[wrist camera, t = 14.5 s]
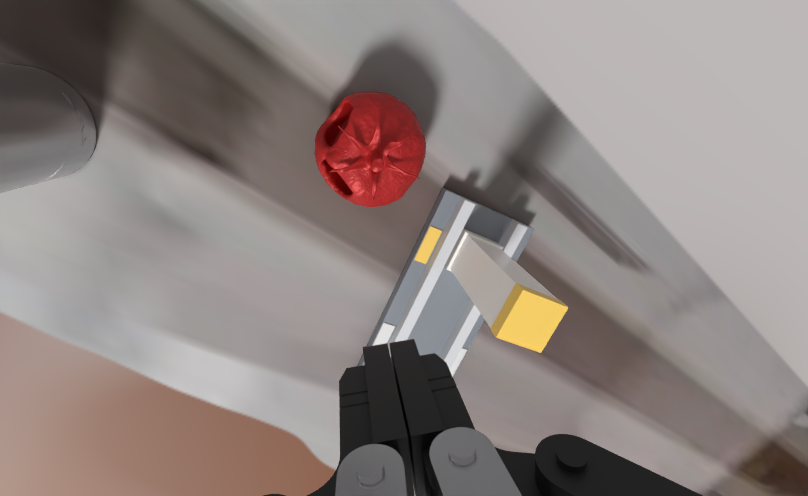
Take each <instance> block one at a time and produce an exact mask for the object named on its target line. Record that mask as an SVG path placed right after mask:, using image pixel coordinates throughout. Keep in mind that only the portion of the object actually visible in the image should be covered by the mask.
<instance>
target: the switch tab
mask: <svg viewBox="0 0 808 496" xmlns="http://www.w3.org/2000/svg"><path fill="white" fill-rule="evenodd" d="M502 249H503V247H502V246H501V245H500V244H498V243H497V242H494V241H492V240H490V239H487V238H485V237H482V236H480V235H478V234H475V233H473V232H470V231H468V230H466V229H463V230H462V232H461V234H460V236H459V238H458V240H457V242H456V244H455V246H454V248H453V250H452V252H451V254H450V256H449V258H448V260H447V262H446V264H445V266H444V267H445V268H446V270H449V271H452V273H453V274H454V276H455V277H456V279H457V280H458V281H459V283H460V284H461V286H462V287H463V289H464V290H465V292H466V293H467V294H468V296H469V297H470V299H471V300H472V302H473V303H474V305H475V306H476V308H477V309H478V310H479V312H480V313H481V315H482V316H483V318H484V319H485V321H486V322H487V323H488V325H489V326H490V329H491V331H492V332H493V334H494V335H495V337H496V338H499V339H502V340H505V341H508V342H511V343H514V344H517V345H520V346H522V347H525V348H528V349H531V350H534V351H537V352H540V353H541V352H542V350H543V349H544V347H545V345H546V344H547V342H548V340H549V339H550V337H551V335H552V334H553V332H554V330H555V329H556V327H557V326H558V324H559V322H560V321H561V319H562V317H563V316H564V314H565V312H566V311H567V309H568V307H567V306H566V305H565V304H564V303H563V302H562V301H560V300H558V299H557V298H556V297H555V296H553V295H552V294H551V293H550V292H549V291H548V290H547V289H546V288H544V287H543V286H542V285H541V284H540V283H539V282H538V281H536V280H535V279H534V278H533V277H532V276H531V275H530V274H529V273H527V272H526V271H525V270H524V269H523V268H522V267H521V266H519V265H518V264H517V263H516V262H515V261H514V260H513V259H512V258H510V257H509V256H508V255H507V254H506V253H505V252H504V251H502Z"/></svg>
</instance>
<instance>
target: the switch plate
mask: <svg viewBox="0 0 808 496" xmlns="http://www.w3.org/2000/svg"><path fill="white" fill-rule="evenodd" d="M463 229H466V230H468V231H470V232H473V233H475V234H478V235H480V236H482V237H485V238H487V239H490V240H492V241H494V242H497V243H498V244H500V245H501V246H502V247H503V249H502V251H504V252H505V253H506V254H507V255H508V256H509V257H510V258H512V259H513V260H514V261H515V262H517V260H518V258H519V256H520V254H521V253H522V251H523V249H524V247H525V245H526V244H527V242H528V240H529V238H530V236H531V235H532V233H533V231H534V229H533V228H531V227H530V226H528V225H526V224H524V223H521V222H519V221H517V220H515V219H512V218H510V217H508V216H506V215H503V214H501V213H499V212H497V211H495V210H492V209H490V208H488V207H486V206H483V205H481V204H479V203H477V202H474V201H472V200H470V199H468V198H465V197H463V196H461V195H459V194H456V193H454V192H452V191H450V190H447V189H445V188H442V190H441V192H440V194H439V196H438V198H437V200H436V202H435V205H434V207H433V209H432V211H431V213H430V215H429V217H428V219H427V221H426V223H425V225H424V228H423V230H422V232H421V234H420V236H419V238H418V240H417V242H416V244H415V246H414V248H413V251H412V253H411V255H410V257H409V259H408V261H407V263H406V265H405V267H404V269H403V271H402V274H401V276H400V278H399V280H398V282H397V284H396V286H395V288H394V290H393V292H392V294H391V297H390V299H389V301H388V303H387V305H386V307H385V309H384V311H383V313H382V315H381V317H380V319H379V322H378V324H377V326H376V328H375V330H374V332H373V334H372V336H371V338H370V340H369V342H368V345H367V346H373V345H379V344H385V343H387V344H388V348H389V352H390V346H389V343H392V342H398V341H404V340H410V339H414V340H415V343H416V346H417V349H418V352H419V355H420V356H421V355H427V354H432V353H435V354H437V355H438V356H439V357H440V358H441V359H443V360H444V361H445V362H446V363H447V365H448V367H449V370H450V372H451V374H452V377H453V375H454V374H455V372H456V370H457V368H458V366H459V364H460V363H461V361H462V359H463V357H464V355H465V354H466V352H467V350H468V348H469V346H470V345H471V343H472V341H473V339H474V337H475V336H476V334H477V332H478V330H479V328H480V327H481V325H482V323H483V321H484V318H483V316H482V315H481V313H480V312H479V310H478V309H477V308H476V306H475V305H474V303H473V302H472V300H471V299H470V297H469V296H468V294H467V293H466V292H465V290H464V289H463V287H462V286H461V284H460V283H459V281H458V280H457V279H456V277H455V276H454V274H453V273H452V271H449V270H446V268H445V267H444V266H445V264H446V262H447V260H448V258H449V256H450V254H451V252H452V250H453V248H454V246H455V244H456V242H457V240H458V238H459V236H460V234H461V232H462V230H463ZM390 357H391V355H390ZM362 365H365V363H364V354H363V355H362V357H361V359H360V361H359V363H358V365H357V366H362Z"/></svg>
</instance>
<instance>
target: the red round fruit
mask: <svg viewBox="0 0 808 496" xmlns="http://www.w3.org/2000/svg"><path fill="white" fill-rule="evenodd" d="M425 150H426V142H425V138H424V134H423V132H422V128H421V126H420V124H419V122H418V120H417V118H416V115H415V114H414V112H412V111H411V110H410V108H409V107H408V106H407V105H406V104H405V103H403V102H401V101H399V100H398V99H396V98H395V97H393V96H391V95H389V94H385V93H379V92H358V93H353V94H351V95H349V96H346V97H345V98H344V99H343V100H342V102H341V104H340V105H339V106H338V107H337V109H336V110H335V111H334V113H333V114H331V115H330V116H329V117H328V118H327V119H326V121H325V122H324V123H323V124H322V125H321V127H320V128H319V130H318V132H317V135H316V138H315V157H316V162H317V166H318V168H319V170H320V173H321V175H322V176H323V177H324V178H325V181H326V182H327V184H328V185H329V186H330V187H332V188H333V189H334V190H335V192H337V193H338V194H339V195H340V196H342V197H343V198H345V199H346V200H349V201H351V202H352V203H354V204H357V205H361V206H366V207H376V206H384V205H387V204H389V203H392V202H394V201H397V200H399V199H400V198H401V197H402V196H403V195H404V194H405V192H406V191H407V190H408V189H409V187H410V186H411V185H412V183H413V182H414V181H415V179H416V178H418V174H419V173H420V171H421V168H422V165H423V162H424V158H425V153H426V151H425ZM418 179H419V178H418Z"/></svg>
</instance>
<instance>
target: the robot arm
mask: <svg viewBox="0 0 808 496" xmlns="http://www.w3.org/2000/svg"><path fill="white" fill-rule="evenodd" d="M95 144H96V128H95V124H94V119H93V117H92V115H91V112H90V110H89V108H88V106H87V105H86V103H85V102H84V100H83V99H82V98H81V96H80V95H79V94H78V93H77V92H76V91H75V90H74V89H73V88H72V87H71V86H70V85H69V84H67V83H66V82H64V81H63V80H62V79H60V78H59V77H57V76H55V75H53V74H51V73H49V72H47V71H45V70H41V69H38V68H35V67H31V66H23V65H15V64H7V63H0V193H2V192H6V191H10V190H13V189H17V188H21V187H25V186H28V185H33V184H37V183H40V182H44V181H48V180H51V179H55V178H59V177H62V176H66V175H69V174H72V173H74V172H75V171H77V170H79V169H80V168H82V167H83V166H84V165H85V164H86V163H87V162H88V161H89V159H90V157H91V155H92V153H93V152H94V148H95ZM389 346H390V352H389V348H388V344H387V343H385V344H379V345H373V346H367V347H363V354H364V363H365V365H362V366H356V367H351V368H346V370H345V372H344V374H343V376H342V377H341V379H340V381H339V396H340V461H339V465H338V467H337V469H336V471H335V473H334V475H333V476H332V477H331V478H330V480H329V481H328V482H327V483H326V484H325V485H323V486H322V487H321V488H319V489H318V490H316V491H315V492H313V493H311V494H310V495H307V496H414V490H415V495H416V496H702V495H700V494H698V493H696V492H694V491H692V490H690V489H688V488H686V487H683V486H681V485H679V484H677V483H675V482H673V481H671V480H669V479H667V478H665V477H662V476H660V475H658V474H656V473H654V472H652V471H650V470H648V469H646V468H644V467H641V466H639V465H637V464H635V463H633V462H631V461H629V460H627V459H625V458H623V457H621V456H618V455H616V454H614V453H612V452H610V451H608V450H606V449H604V448H602V447H600V446H597V445H595V444H593V443H591V442H589V441H587V440H585V439H582V438H580V437H577V436H573V435H568V434H556V435H552V436H549V437H547V438H545V439H543V440H542V441H541V442H540V443H539V444H538V446H537V448H536V452H535V454H532V453H521V452H511V451H505V450H501V449H498V448H496V447H494V445H493V444H492V442H491V441H490V440H489V438H488V437H487V436H485V435H484V434H483V433H481V432H479V431H477V430H475V428H474V426H473V423H472V421H471V419H470V416H469V414H468V412H467V409H466V407H465V405H464V402H463V400H462V398H461V395H460V393H459V391H458V388H457V387H456V384H455V381H454V379H453V378H452V374H451V372H450V370H449V367H448V365H447V363H446V362H445V361H444V360H443V359H441V358H440V357H439V356H438V355H437V354H435V353H432V354H427V355H421V356H420V355H419V352H418V349H417V346H416V343H415V340H414V339H410V340H404V341H398V342H392V343H389ZM390 355H391V357H390ZM413 486H414V488H413ZM264 496H285V495H280V494H269V495H264Z"/></svg>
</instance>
